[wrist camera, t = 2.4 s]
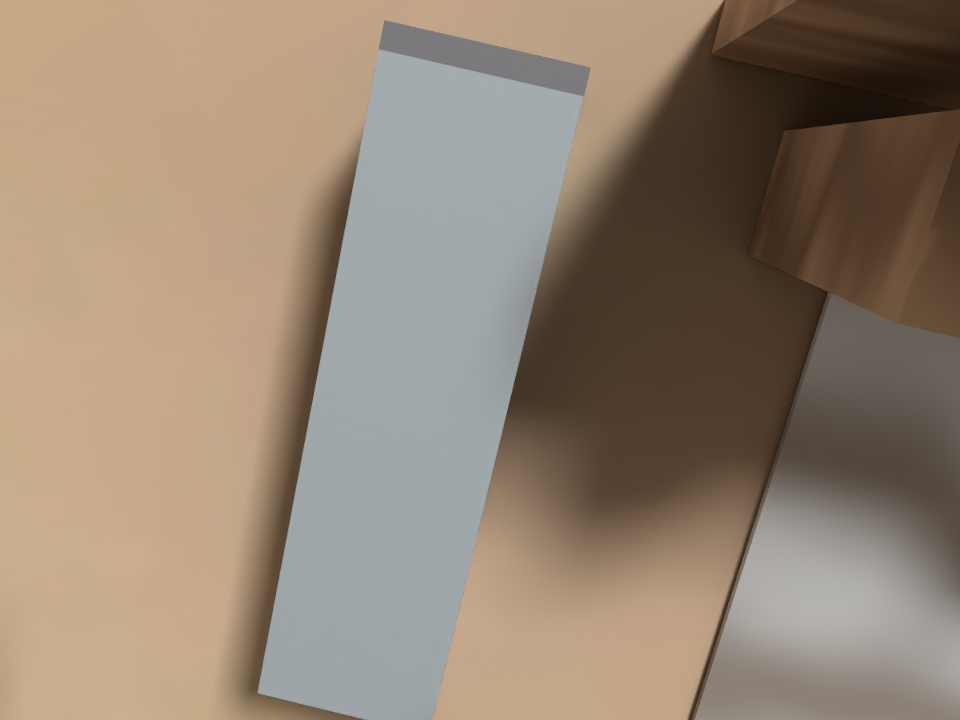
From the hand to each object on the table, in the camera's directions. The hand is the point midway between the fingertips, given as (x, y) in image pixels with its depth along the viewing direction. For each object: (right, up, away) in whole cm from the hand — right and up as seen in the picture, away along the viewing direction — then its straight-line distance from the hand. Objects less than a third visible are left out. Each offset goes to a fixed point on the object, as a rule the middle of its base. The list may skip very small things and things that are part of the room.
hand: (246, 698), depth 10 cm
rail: (+1, +4, +17) cm, 17 cm away
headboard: (+16, 0, +16) cm, 23 cm away
